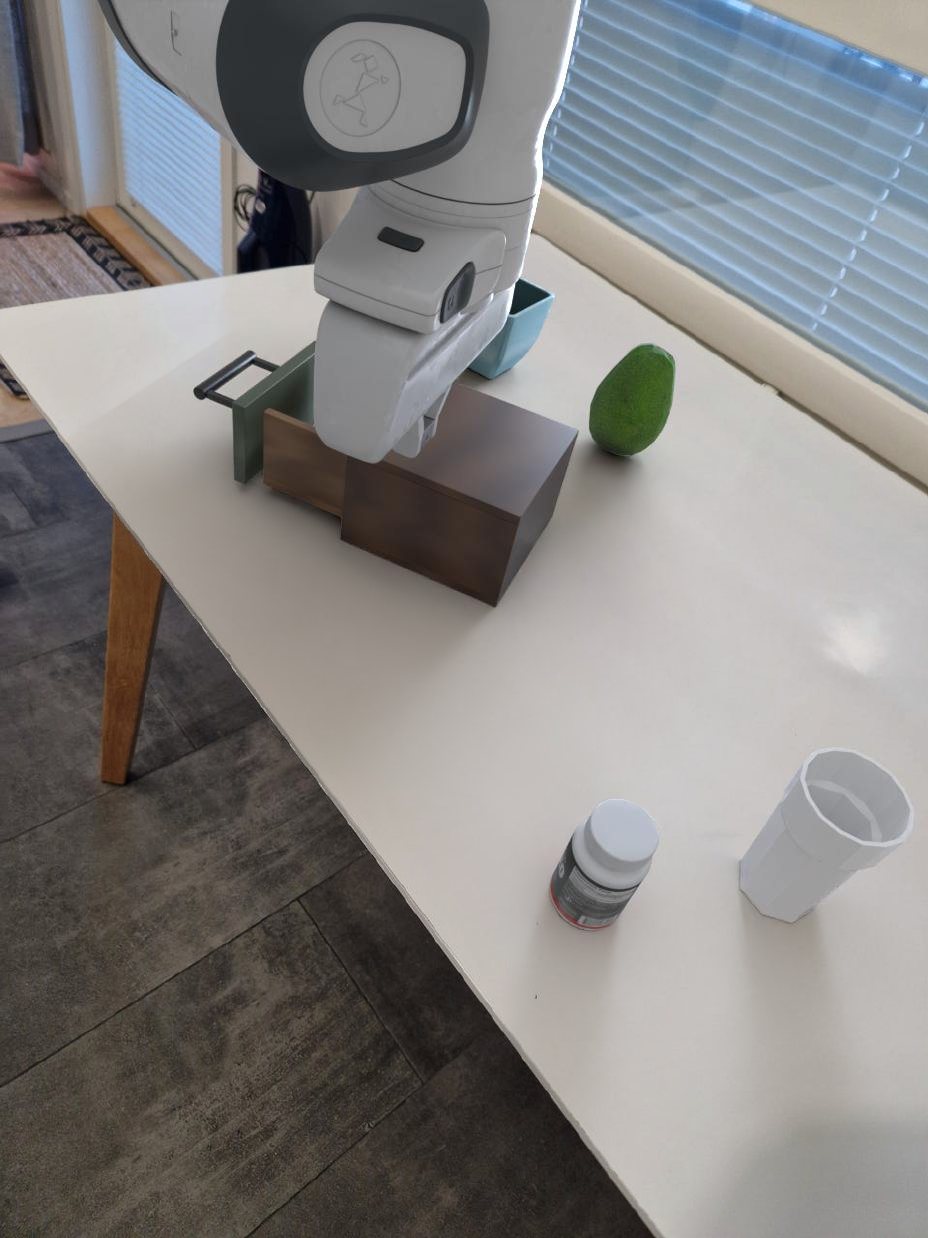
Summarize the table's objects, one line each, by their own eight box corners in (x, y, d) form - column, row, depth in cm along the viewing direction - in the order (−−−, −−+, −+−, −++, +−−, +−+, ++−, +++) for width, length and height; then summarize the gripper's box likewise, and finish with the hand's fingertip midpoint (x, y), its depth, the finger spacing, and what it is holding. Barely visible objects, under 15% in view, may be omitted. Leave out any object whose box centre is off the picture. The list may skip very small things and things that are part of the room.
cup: (799, 837, 60) (879, 745, 52) (841, 929, 56) (936, 843, 48) (712, 842, 59) (782, 748, 51) (749, 937, 54) (832, 850, 46)
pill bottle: (572, 848, 57) (608, 776, 51) (634, 892, 55) (679, 823, 49) (533, 900, 54) (568, 830, 48) (598, 948, 52) (642, 883, 46)
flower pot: (538, 368, 99) (557, 293, 93) (495, 394, 94) (512, 317, 87) (477, 336, 102) (491, 261, 96) (431, 360, 96) (443, 283, 90)
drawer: (179, 456, 76) (172, 377, 71) (261, 393, 85) (261, 318, 79) (371, 539, 73) (380, 463, 67) (435, 464, 82) (448, 392, 76)
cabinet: (339, 539, 73) (347, 445, 67) (412, 459, 83) (426, 370, 76) (495, 607, 71) (520, 517, 64) (552, 516, 81) (579, 429, 74)
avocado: (650, 479, 88) (693, 374, 79) (575, 459, 88) (609, 352, 79) (654, 437, 93) (693, 334, 85) (583, 418, 93) (616, 314, 85)
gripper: (467, 158, 53) (434, 360, 63) (294, 271, 39) (286, 509, 49) (562, 190, 52) (514, 391, 62) (419, 317, 38) (386, 551, 48)
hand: (412, 444), depth 55 cm, fingers closed
